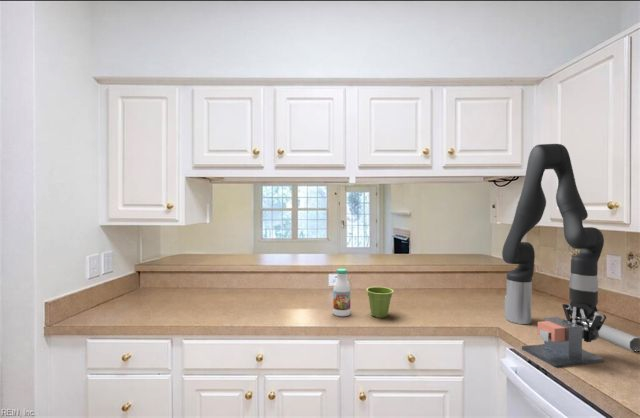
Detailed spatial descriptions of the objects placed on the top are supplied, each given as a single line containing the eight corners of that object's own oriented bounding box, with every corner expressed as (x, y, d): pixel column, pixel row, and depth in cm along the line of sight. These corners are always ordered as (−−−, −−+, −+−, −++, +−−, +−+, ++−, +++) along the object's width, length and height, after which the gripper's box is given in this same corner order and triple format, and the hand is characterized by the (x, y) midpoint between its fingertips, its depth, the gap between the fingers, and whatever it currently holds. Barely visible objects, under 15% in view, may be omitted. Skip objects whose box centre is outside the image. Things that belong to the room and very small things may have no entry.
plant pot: (375, 321, 143) (375, 294, 143) (361, 312, 154) (361, 288, 154) (398, 317, 147) (398, 291, 147) (383, 309, 158) (384, 285, 158)
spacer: (537, 334, 113) (537, 321, 113) (547, 333, 114) (547, 321, 114) (554, 342, 107) (554, 328, 107) (565, 341, 108) (565, 327, 108)
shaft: (536, 340, 113) (537, 323, 113) (582, 336, 116) (582, 320, 116) (551, 347, 107) (551, 330, 107) (598, 343, 111) (598, 326, 111)
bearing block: (521, 349, 116) (522, 317, 116) (566, 344, 120) (566, 314, 119) (555, 367, 103) (555, 331, 103) (603, 361, 107) (604, 327, 107)
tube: (567, 316, 139) (627, 340, 114) (579, 311, 139) (641, 334, 114) (571, 328, 139) (632, 355, 114) (583, 324, 139) (646, 349, 114)
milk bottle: (330, 312, 155) (330, 268, 154) (346, 310, 157) (346, 267, 157) (337, 317, 148) (337, 271, 147) (353, 315, 150) (353, 270, 150)
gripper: (555, 283, 119) (554, 332, 119) (595, 293, 105) (594, 349, 105) (573, 282, 120) (572, 330, 121) (614, 292, 107) (613, 347, 107)
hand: (582, 339), depth 113 cm, fingers closed on shaft, 3 cm apart
